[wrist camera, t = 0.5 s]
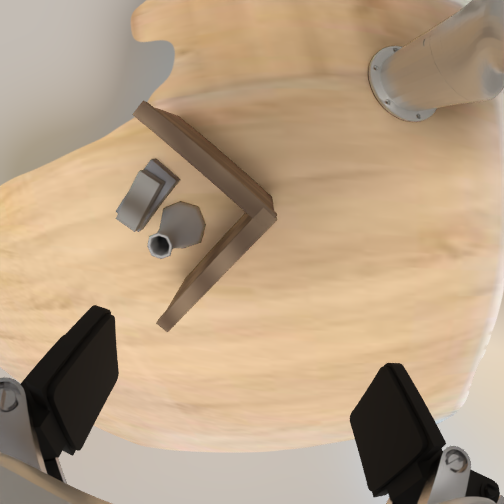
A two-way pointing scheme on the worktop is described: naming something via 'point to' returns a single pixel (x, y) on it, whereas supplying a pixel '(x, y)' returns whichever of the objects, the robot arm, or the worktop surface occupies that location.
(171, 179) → the tray
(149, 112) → the brown wooden corner wall
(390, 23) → the worktop surface
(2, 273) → the worktop surface
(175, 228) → the flask
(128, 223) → the offcut top
